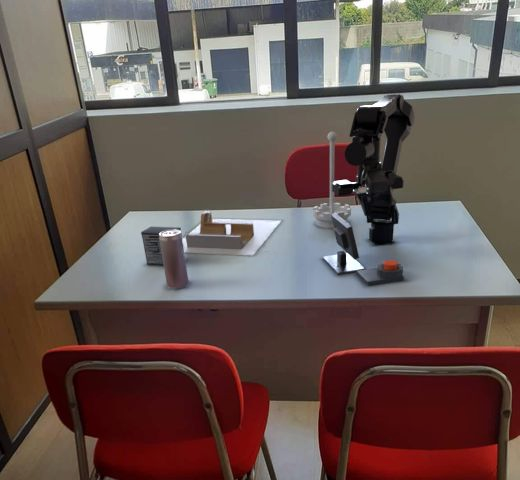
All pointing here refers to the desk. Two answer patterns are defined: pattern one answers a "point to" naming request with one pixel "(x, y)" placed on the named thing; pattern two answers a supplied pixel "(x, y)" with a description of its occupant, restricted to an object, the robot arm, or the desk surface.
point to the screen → (345, 236)
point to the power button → (390, 265)
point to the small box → (154, 244)
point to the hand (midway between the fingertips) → (366, 215)
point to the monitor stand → (343, 263)
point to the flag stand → (331, 197)
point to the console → (380, 275)
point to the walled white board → (228, 235)
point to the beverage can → (173, 258)
